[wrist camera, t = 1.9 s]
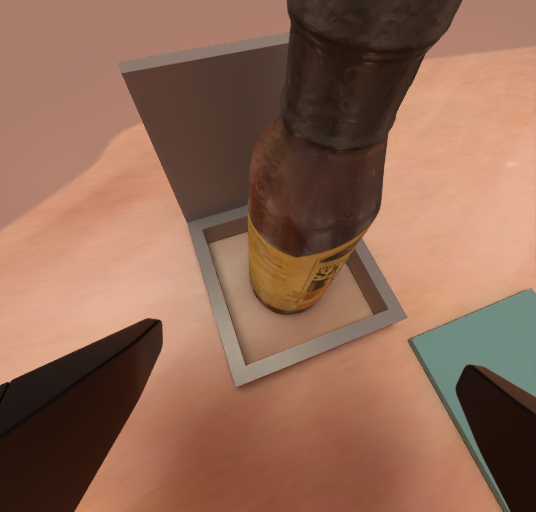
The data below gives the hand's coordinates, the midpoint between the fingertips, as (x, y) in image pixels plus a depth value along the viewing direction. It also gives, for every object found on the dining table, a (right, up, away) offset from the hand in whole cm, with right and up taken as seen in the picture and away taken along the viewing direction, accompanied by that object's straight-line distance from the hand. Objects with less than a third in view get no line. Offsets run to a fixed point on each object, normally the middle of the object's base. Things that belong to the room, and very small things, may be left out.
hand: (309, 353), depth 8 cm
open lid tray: (0, +1, +15) cm, 15 cm away
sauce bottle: (0, +1, +16) cm, 16 cm away
